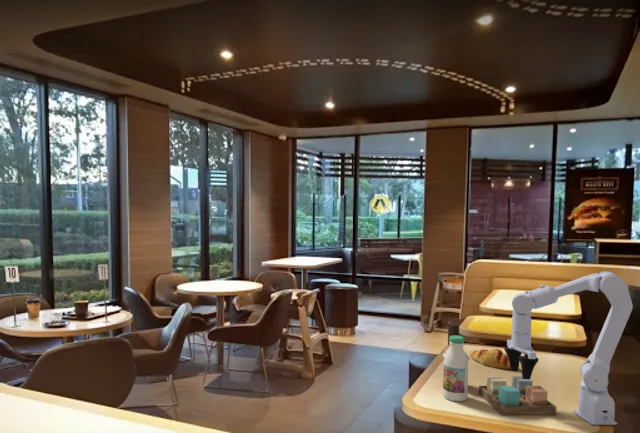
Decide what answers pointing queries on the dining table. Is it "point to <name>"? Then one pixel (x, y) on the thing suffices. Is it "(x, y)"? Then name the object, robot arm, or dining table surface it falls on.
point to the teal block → (509, 396)
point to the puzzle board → (530, 397)
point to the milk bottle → (455, 371)
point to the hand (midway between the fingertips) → (520, 374)
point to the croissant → (491, 358)
